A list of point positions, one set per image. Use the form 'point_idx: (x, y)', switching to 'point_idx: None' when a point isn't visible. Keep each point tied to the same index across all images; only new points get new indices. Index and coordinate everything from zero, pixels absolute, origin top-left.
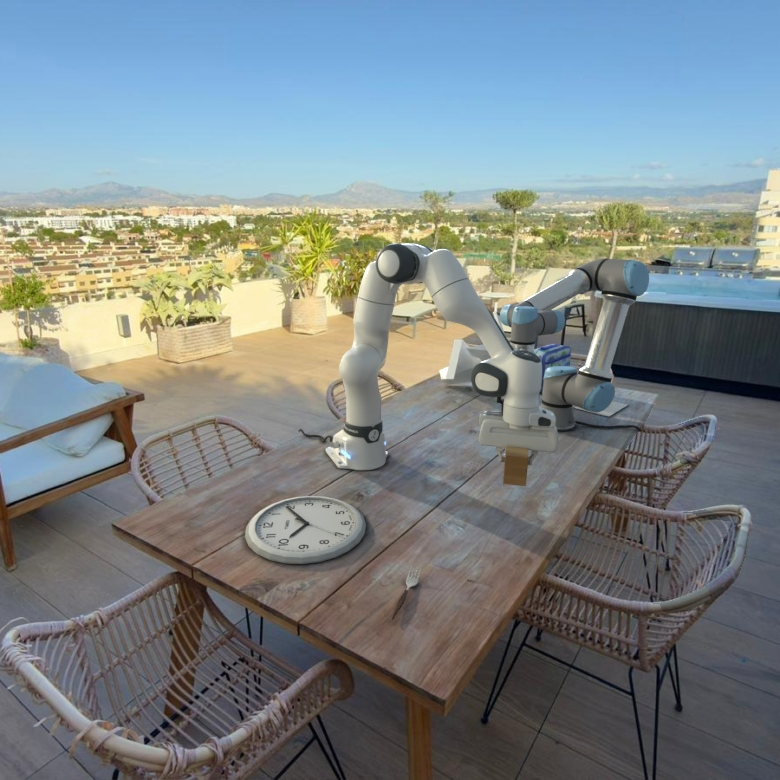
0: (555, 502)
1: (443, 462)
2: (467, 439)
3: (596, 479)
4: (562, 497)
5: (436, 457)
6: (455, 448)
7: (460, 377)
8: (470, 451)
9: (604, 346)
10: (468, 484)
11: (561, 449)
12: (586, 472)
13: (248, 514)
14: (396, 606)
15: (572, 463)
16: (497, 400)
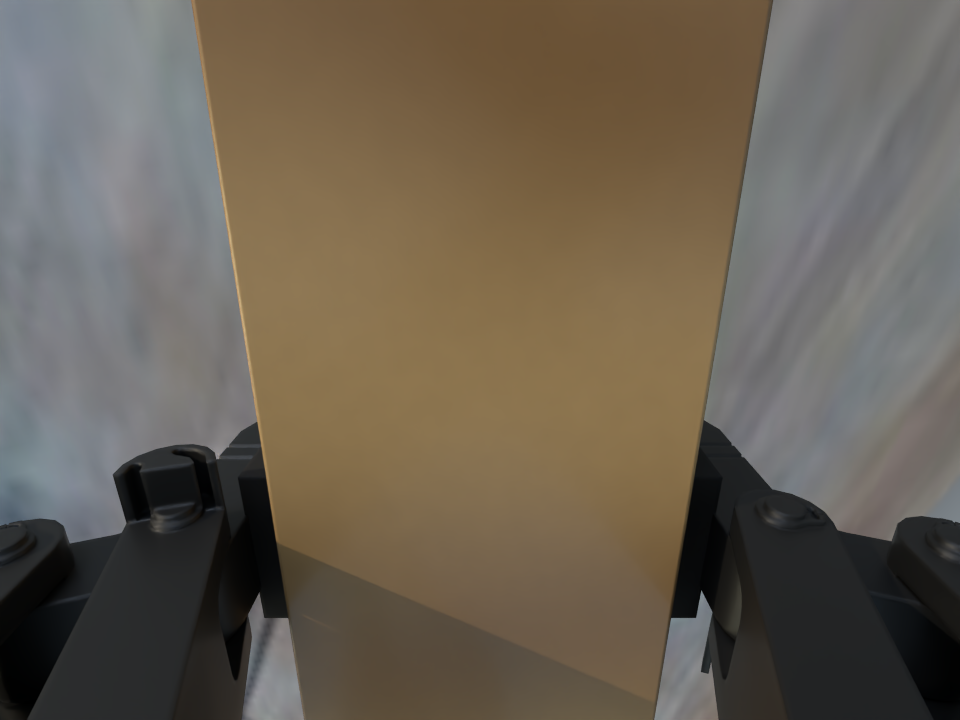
0: (660, 715)
1: (79, 486)
2: (85, 28)
3: (944, 484)
4: (701, 676)
5: (9, 433)
6: (64, 259)
7: None
8: (183, 284)
9: None
10: (280, 665)
11: (892, 41)
12: (924, 413)
13: None
14: None
15: (883, 304)
16: (16, 706)
